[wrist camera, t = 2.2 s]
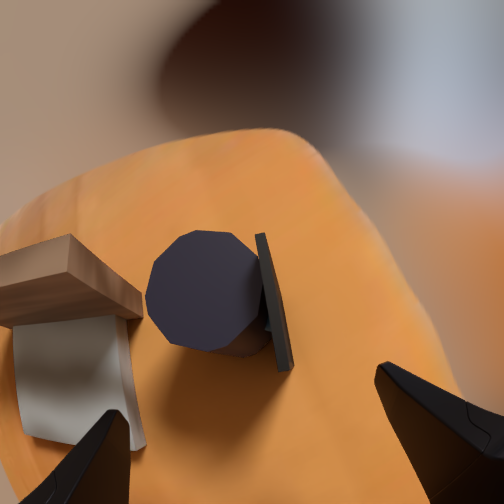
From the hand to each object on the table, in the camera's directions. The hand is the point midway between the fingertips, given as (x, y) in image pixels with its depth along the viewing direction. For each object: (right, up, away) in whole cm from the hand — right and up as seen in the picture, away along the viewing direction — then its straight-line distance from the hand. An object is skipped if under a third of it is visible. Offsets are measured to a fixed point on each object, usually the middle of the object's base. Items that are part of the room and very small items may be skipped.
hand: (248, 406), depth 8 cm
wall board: (-15, -6, +9) cm, 18 cm away
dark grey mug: (-1, -1, +12) cm, 12 cm away
